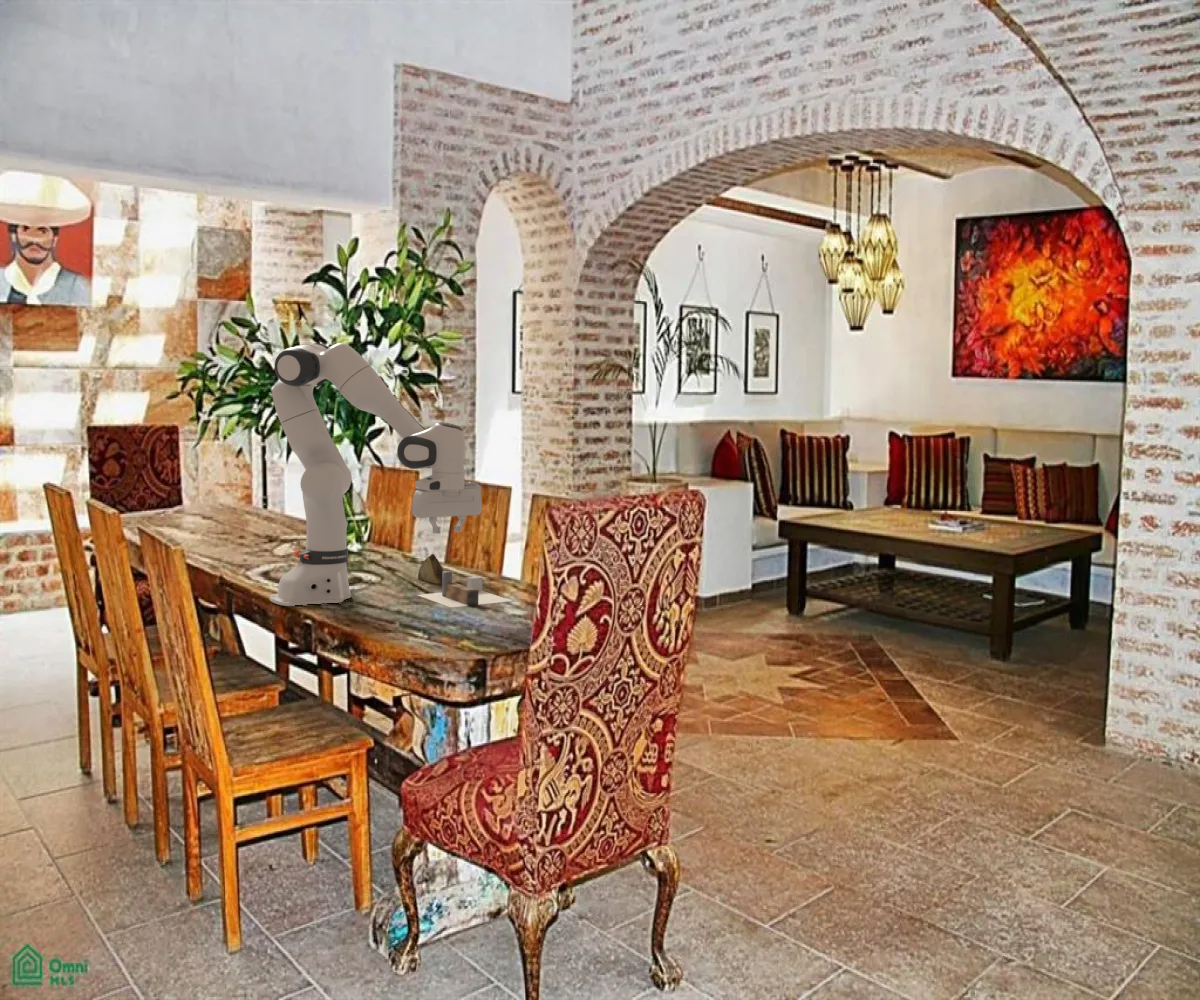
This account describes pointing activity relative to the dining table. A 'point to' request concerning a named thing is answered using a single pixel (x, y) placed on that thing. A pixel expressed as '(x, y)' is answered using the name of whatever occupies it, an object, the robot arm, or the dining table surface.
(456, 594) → the leg
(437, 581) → the rock
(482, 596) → the wall mounted roll holder
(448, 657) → the dining table surface
